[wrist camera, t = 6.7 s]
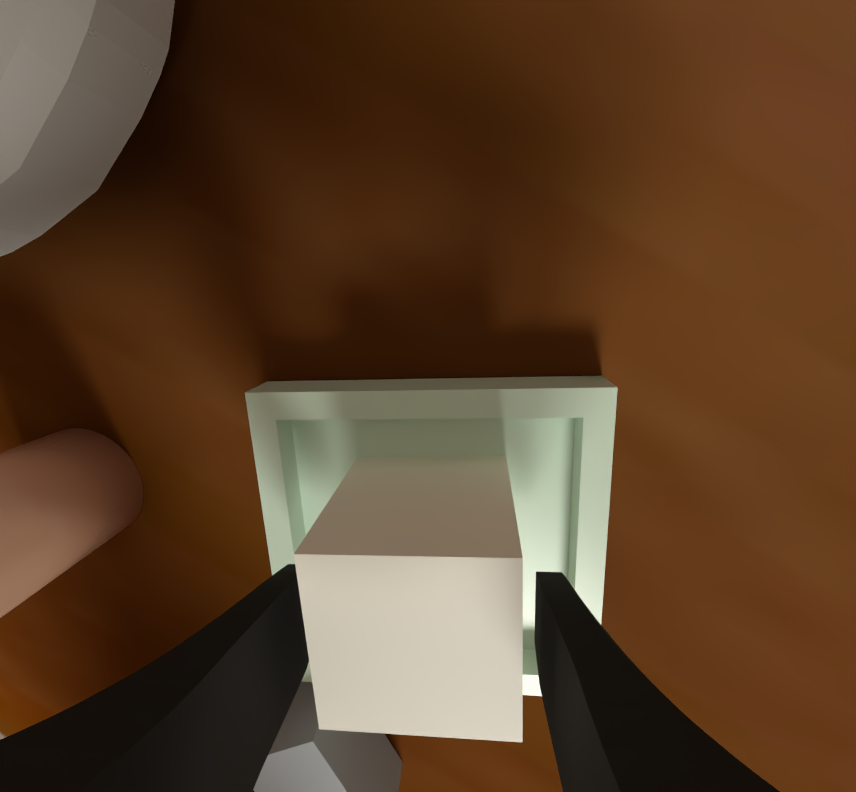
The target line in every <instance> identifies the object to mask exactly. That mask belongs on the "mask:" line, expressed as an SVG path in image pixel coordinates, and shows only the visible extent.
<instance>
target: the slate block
mask: <svg viewBox="0 0 856 792" xmlns="http://www.w3.org/2000/svg"><path fill="white" fill-rule="evenodd" d="M402 763H403V762H402V760H401V759H400V757H399V756H398V754H397V753H396V751H395V749H394V748H393V746H392V745H391V743H390V742H389V740H388V738H387V737H386V735H385V734H384V733H369V732H354V731H338V730H322V729H319V725H318V718H317V711H316V704H315V697H314V691H313V684H312V682H301V683H300V686H299V688H298V690H297V692H296V695H295V697H294V699H293V701H292V703H291V706H290V708H289V710H288V712H287V714H286V717H285V719H284V721H283V723H282V725H281V728H280V730H279V732H278V734H277V737H276V739H275V741H274V743H273V745H272V748H271V750H270V752H269V754H268V756H267V759H266V761H265V763H264V765H263V767H262V770H261V772H260V775H259V777H258V779H257V782H256V784H255V787H254V789H253V790H254V792H398V789H399V783H400V776H401V770H402Z"/></svg>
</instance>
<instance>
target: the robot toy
mask: <svg viewBox="0 0 856 792" xmlns="http://www.w3.org/2000/svg"><path fill="white" fill-rule="evenodd" d="M174 4H175V0H0V256H3V255H6V254H8V253H11V252H13V251H15V250H17V249H18V248H20V247H22V246H24V245H25V244H27V243H29V242H31V241H32V240H34V239H36V238H38V237H39V236H41V235H42V234H44V233H45V232H46V231H47V230H49V229H50V228H51V227H52V226H54V225H55V224H56V223H57V222H59V221H60V220H61V219H62V218H64V217H65V216H66V215H67V214H69V213H70V212H71V211H72V210H74V209H75V208H76V207H77V206H79V205H80V204H81V203H82V202H84V201H85V200H86V199H87V198H89V197H90V196H91V195H92V194H94V193H95V192H96V191H97V190H98V189H99V187H100V186H101V184H102V182H103V181H104V179H105V177H106V176H107V174H108V172H109V171H110V169H111V167H112V166H113V164H114V162H115V161H116V159H117V157H118V156H119V154H120V152H121V151H122V149H123V147H124V146H125V144H126V143H127V141H128V139H129V138H130V136H131V134H132V133H133V131H134V129H135V128H136V126H137V124H138V123H139V121H140V119H141V118H142V115H143V113H144V111H145V109H146V106H147V104H148V102H149V100H150V97H151V95H152V93H153V91H154V89H155V86H156V84H157V82H158V80H159V77H160V75H161V72H162V69H163V66H164V63H165V60H166V56H167V53H168V50H169V44H170V36H171V28H172V20H173V12H174Z"/></svg>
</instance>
